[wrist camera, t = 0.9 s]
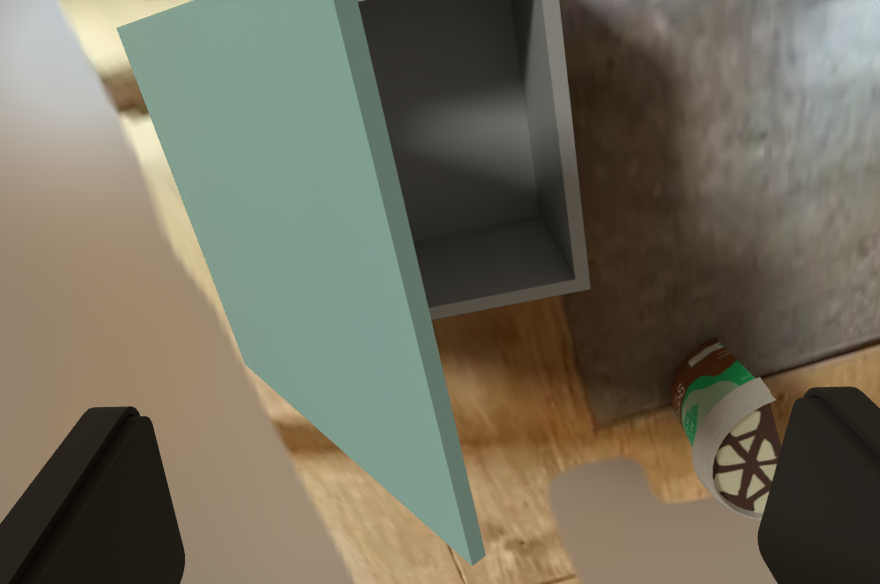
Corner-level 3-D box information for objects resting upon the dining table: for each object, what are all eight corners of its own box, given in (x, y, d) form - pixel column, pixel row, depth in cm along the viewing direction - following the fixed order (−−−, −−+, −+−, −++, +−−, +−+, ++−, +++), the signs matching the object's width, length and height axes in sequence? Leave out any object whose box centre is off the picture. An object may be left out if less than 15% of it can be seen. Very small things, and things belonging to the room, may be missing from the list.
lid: (345, -50, 14) (321, -45, 14) (485, 555, 22) (472, 566, 22) (129, 25, 30) (116, 28, 30) (254, 359, 38) (245, 364, 38)
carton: (515, -49, 41) (552, -61, 30) (550, 221, 48) (590, 289, 37) (205, 20, 42) (132, 32, 31) (288, 273, 49) (253, 354, 38)
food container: (638, 350, 53) (684, 424, 44) (711, 323, 52) (774, 393, 43) (675, 459, 58) (723, 546, 49) (743, 436, 57) (805, 520, 48)
